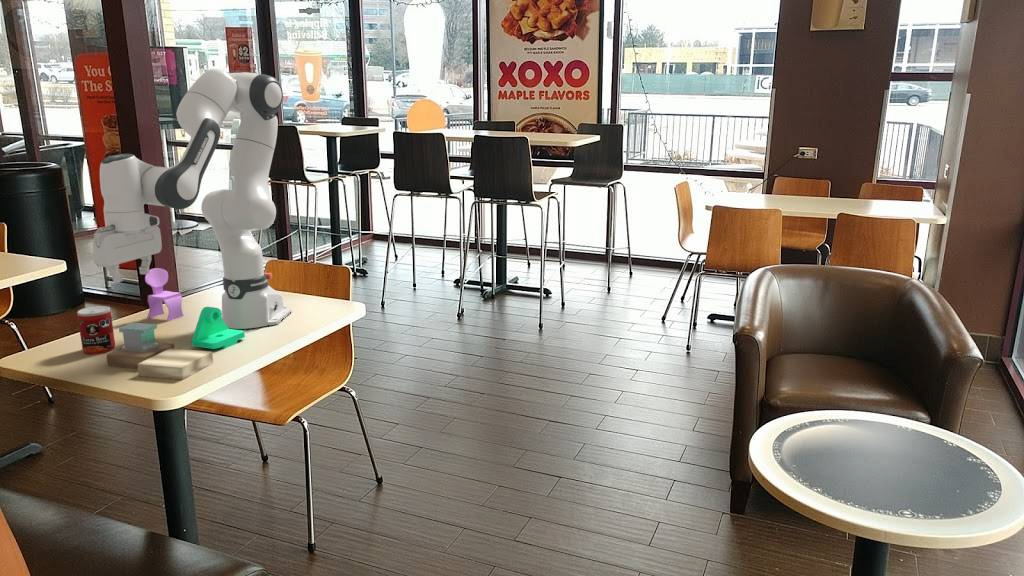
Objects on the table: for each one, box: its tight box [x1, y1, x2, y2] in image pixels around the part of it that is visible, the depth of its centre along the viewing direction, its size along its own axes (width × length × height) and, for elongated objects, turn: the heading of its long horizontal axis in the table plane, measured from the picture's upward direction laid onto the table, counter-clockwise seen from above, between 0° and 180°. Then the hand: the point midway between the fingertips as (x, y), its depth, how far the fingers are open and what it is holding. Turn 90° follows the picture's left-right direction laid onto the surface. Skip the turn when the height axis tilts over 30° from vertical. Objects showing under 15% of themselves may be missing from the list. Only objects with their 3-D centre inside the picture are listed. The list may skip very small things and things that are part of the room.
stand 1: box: [105, 342, 175, 369], centre depth 195 cm, size 11×11×3 cm
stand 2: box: [137, 348, 214, 381], centre depth 188 cm, size 12×12×3 cm
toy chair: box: [144, 267, 184, 322], centre depth 232 cm, size 8×9×15 cm
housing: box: [118, 322, 160, 353], centre depth 194 cm, size 5×7×6 cm
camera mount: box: [191, 306, 246, 350], centre depth 207 cm, size 12×8×10 cm, turn 157°
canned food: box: [76, 305, 116, 355], centre depth 202 cm, size 8×8×11 cm
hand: (131, 277), depth 190 cm, fingers open, 8 cm apart
